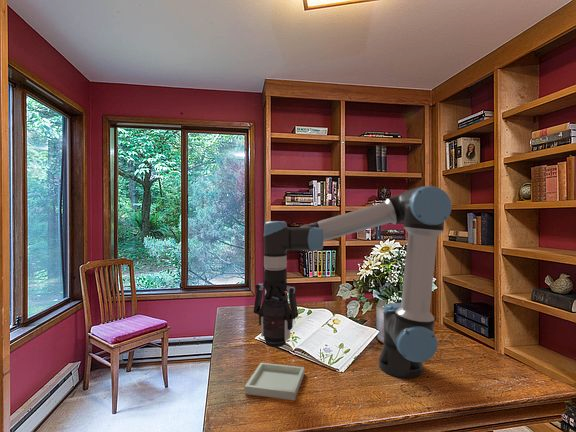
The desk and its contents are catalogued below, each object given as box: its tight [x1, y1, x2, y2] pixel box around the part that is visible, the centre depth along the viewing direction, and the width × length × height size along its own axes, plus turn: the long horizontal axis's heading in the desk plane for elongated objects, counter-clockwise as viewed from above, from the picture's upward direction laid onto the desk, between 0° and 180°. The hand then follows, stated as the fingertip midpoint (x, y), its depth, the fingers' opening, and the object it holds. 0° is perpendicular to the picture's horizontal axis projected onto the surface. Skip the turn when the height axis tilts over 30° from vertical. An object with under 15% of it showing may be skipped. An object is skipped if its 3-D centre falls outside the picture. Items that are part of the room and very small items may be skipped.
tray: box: [244, 362, 305, 401], centre depth 108 cm, size 16×16×2 cm
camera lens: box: [262, 296, 288, 348], centre depth 107 cm, size 8×8×15 cm
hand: (275, 336), depth 108 cm, fingers closed on camera lens, 8 cm apart
